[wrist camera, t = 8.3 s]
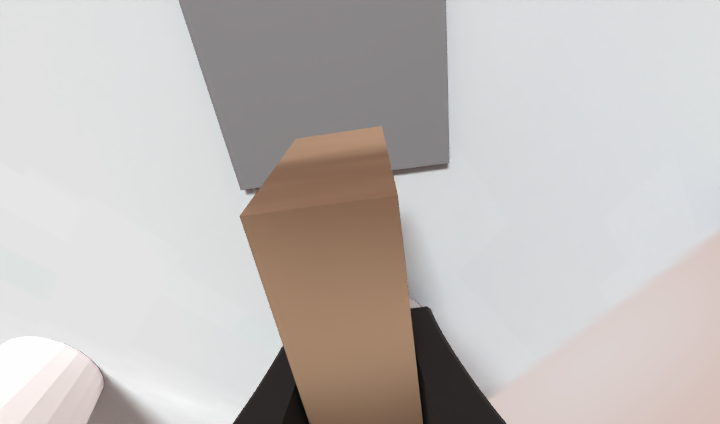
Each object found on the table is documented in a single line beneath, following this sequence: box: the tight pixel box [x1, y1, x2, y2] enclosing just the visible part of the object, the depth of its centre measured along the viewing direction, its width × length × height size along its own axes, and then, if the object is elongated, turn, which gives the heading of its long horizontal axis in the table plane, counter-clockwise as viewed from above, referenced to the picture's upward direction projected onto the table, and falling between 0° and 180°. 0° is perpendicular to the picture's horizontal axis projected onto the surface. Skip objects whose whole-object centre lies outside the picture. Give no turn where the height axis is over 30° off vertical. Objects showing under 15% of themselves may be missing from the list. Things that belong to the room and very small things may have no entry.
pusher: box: [240, 126, 423, 424], centre depth 10 cm, size 13×7×5 cm, turn 9°
